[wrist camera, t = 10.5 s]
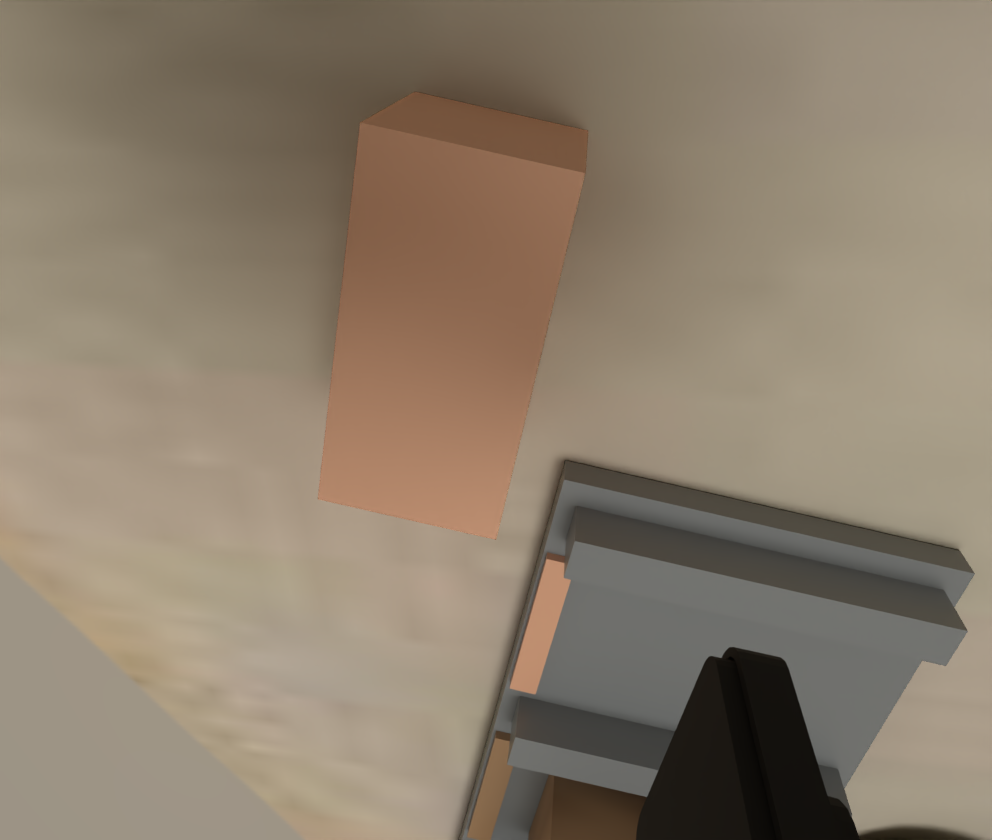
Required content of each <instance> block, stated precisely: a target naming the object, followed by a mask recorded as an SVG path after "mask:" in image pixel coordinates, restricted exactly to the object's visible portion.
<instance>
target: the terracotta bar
mask: <svg viewBox="0 0 992 840" xmlns="http://www.w3.org/2000/svg"><path fill="white" fill-rule="evenodd" d="M587 142H588V131H587V130H583V129H578V128H574V127H570V126H565V125H561V124H556V123H552V122H547V121H543V120H539V119H534V118H530V117H525V116H521V115H516V114H512V113H507V112H503V111H499V110H494V109H490V108H485V107H481V106H476V105H472V104H468V103H463V102H459V101H454V100H450V99H445V98H441V97H436V96H432V95H428V94H423V93H419V92H413V93H412V94H410V95H408V96H406V97H404V98H403V99H401V100H399V101H397V102H396V103H394V104H392V105H390V106H388V107H387V108H385V109H383V110H381V111H380V112H378V113H376V114H374V115H372V116H371V117H369V118H367V119H365V120H363V121H362V122H360V127H359V136H358V145H357V154H356V162H355V171H354V180H353V189H352V198H351V207H350V216H349V225H348V234H347V243H346V252H345V261H344V270H343V279H342V287H341V296H340V305H339V314H338V323H337V332H336V341H335V350H334V359H333V368H332V377H331V386H330V395H329V404H328V412H327V421H326V430H325V439H324V448H323V457H322V466H321V475H320V484H319V493H318V499H319V500H324V501H328V502H333V503H337V504H341V505H346V506H350V507H355V508H359V509H363V510H368V511H372V512H377V513H381V514H385V515H390V516H394V517H399V518H403V519H407V520H412V521H416V522H421V523H425V524H429V525H434V526H438V527H442V528H447V529H451V530H456V531H460V532H464V533H469V534H473V535H478V536H482V537H486V538H491V539H495V540H496V538H497V534H498V530H499V526H500V522H501V517H502V513H503V509H504V505H505V501H506V497H507V493H508V489H509V485H510V481H511V476H512V472H513V468H514V464H515V460H516V456H517V452H518V448H519V444H520V440H521V436H522V431H523V427H524V423H525V419H526V415H527V411H528V407H529V403H530V399H531V395H532V390H533V386H534V382H535V378H536V374H537V370H538V366H539V362H540V358H541V354H542V349H543V345H544V341H545V337H546V333H547V329H548V325H549V321H550V317H551V313H552V308H553V304H554V300H555V296H556V292H557V288H558V284H559V280H560V276H561V272H562V267H563V263H564V259H565V255H566V251H567V247H568V243H569V239H570V235H571V231H572V226H573V222H574V218H575V214H576V210H577V206H578V202H579V198H580V194H581V190H582V185H583V181H584V177H585V173H586V158H587Z"/></svg>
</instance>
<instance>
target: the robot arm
mask: <svg viewBox="0 0 992 840" xmlns="http://www.w3.org/2000/svg"><path fill="white" fill-rule="evenodd" d="M636 840H860V839H859V836H858V833H857V830H856V827H855V824H854V822H853V819H852V817H851V815H850V813H849V811H848V808H847V807H846V806H845V805H844V804H843V803H842V802H841V801H840V799H837V798H834V797H830V796H827V792H826V789H825V786H824V782H823V779H822V776H821V773H820V769H819V766H818V763H817V760H816V756H815V753H814V750H813V746H812V743H811V740H810V737H809V733H808V730H807V727H806V724H805V720H804V717H803V714H802V710H801V707H800V704H799V701H798V697H797V694H796V691H795V688H794V684H793V681H792V678H791V674H790V671H789V668H788V666H787V664H786V662H785V660H783V659H782V658H781V657H777V656H772V655H768V654H763V653H759V652H754V651H750V650H745V649H741V648H736V647H729V648H728V649H727V650H726V651H725V652H724V654H723V656H722V658H719V657H714V656H709V657H708V658H707V659H706V661H705V663H704V665H703V667H702V669H701V672H700V674H699V676H698V679H697V681H696V683H695V686H694V688H693V690H692V693H691V695H690V697H689V700H688V702H687V704H686V707H685V709H684V711H683V714H682V716H681V719H680V721H679V723H678V726H677V728H676V730H675V733H674V735H673V737H672V740H671V742H670V744H669V747H668V749H667V751H666V754H665V756H664V758H663V761H662V763H661V765H660V768H659V770H658V772H657V775H656V777H655V779H654V782H653V784H652V786H651V789H650V791H649V793H648V796H647V798H646V801H645V803H644V805H643V808H642V810H641V813H640V816H639V820H638V825H637V832H636Z"/></svg>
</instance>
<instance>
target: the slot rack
mask: <svg viewBox="0 0 992 840" xmlns="http://www.w3.org/2000/svg"><path fill="white" fill-rule="evenodd" d="M974 574H975V573H974V572H973V570H972V569H971V567H970V566H969V564H968V562H967V561H966V559H965V558H964V556H963V555H962V553H961V552H960V551H959V550H954V549H950V548H945V547H941V546H937V545H932V544H928V543H924V542H919V541H915V540H911V539H906V538H902V537H897V536H893V535H889V534H884V533H880V532H876V531H871V530H867V529H863V528H858V527H854V526H849V525H845V524H841V523H836V522H832V521H828V520H823V519H819V518H815V517H810V516H806V515H801V514H797V513H793V512H788V511H784V510H780V509H775V508H771V507H767V506H762V505H758V504H754V503H749V502H745V501H740V500H736V499H732V498H727V497H723V496H719V495H714V494H710V493H706V492H701V491H697V490H692V489H688V488H684V487H679V486H675V485H671V484H666V483H662V482H658V481H653V480H649V479H644V478H640V477H636V476H631V475H627V474H623V473H618V472H614V471H610V470H605V469H601V468H596V467H592V466H588V465H583V464H579V463H575V462H570V461H565V464H564V468H563V471H562V475H561V478H560V482H559V486H558V489H557V493H556V496H555V500H554V503H553V507H552V510H551V514H550V518H549V521H548V525H547V528H546V532H545V535H544V539H543V543H542V546H541V550H540V553H539V557H538V560H537V564H536V568H535V571H534V575H533V578H532V582H531V585H530V589H529V592H528V596H527V600H526V603H525V607H524V610H523V614H522V617H521V621H520V625H519V628H518V632H517V635H516V639H515V642H514V646H513V650H512V653H511V657H510V660H509V664H508V667H507V671H506V674H505V678H504V682H503V685H502V689H501V692H500V696H499V699H498V703H497V707H496V710H495V714H494V717H493V721H492V724H491V728H490V731H489V735H488V739H487V742H486V746H485V749H484V753H483V756H482V760H481V764H480V767H479V771H478V774H477V778H476V781H475V785H474V789H473V792H472V796H471V799H470V803H469V806H468V810H467V813H466V817H465V821H464V824H463V828H462V831H461V835H460V838H459V840H528V835H529V831H530V828H531V825H532V823H533V820H534V817H535V814H536V811H537V808H538V805H539V802H540V799H541V796H542V793H543V790H544V788H545V785H546V782H547V779H548V776H549V775H554V776H558V777H562V778H567V779H571V780H575V781H580V782H584V783H588V784H593V785H597V786H601V787H606V788H610V789H614V790H619V791H623V792H627V793H632V794H636V795H640V796H645V797H647V796H648V793H649V791H650V789H651V786H652V784H653V782H654V779H655V777H656V775H657V772H658V770H659V768H660V765H661V763H662V761H663V758H664V756H665V754H666V751H667V749H668V747H669V744H670V742H671V740H672V737H673V735H674V733H675V730H676V728H677V726H678V723H679V721H680V719H681V716H682V714H683V711H684V709H685V707H686V704H687V702H688V700H689V697H690V695H691V693H692V690H693V688H694V686H695V683H696V681H697V679H698V676H699V674H700V672H701V669H702V667H703V665H704V663H705V661H706V659H707V658H708V657H709V656H714V657H719V658H722V656H723V654H724V652H725V651H726V650H727V649H728V648H729V647H736V648H741V649H745V650H750V651H754V652H759V653H763V654H768V655H772V656H777V657H781V658H782V659H783V660H785V662H786V664H787V666H788V668H789V671H790V674H791V678H792V681H793V684H794V688H795V691H796V694H797V697H798V701H799V704H800V707H801V710H802V714H803V717H804V720H805V724H806V727H807V730H808V733H809V737H810V740H811V743H812V746H813V750H814V753H815V756H816V760H817V763H818V766H819V769H820V773H821V776H822V779H823V782H824V786H825V789H826V792H827V796H830V797H834V798H837V799H840V801H841V802H842V803H843V804H844V805H845V806H846V807H847V808H848V811H849V813H850V815H851V816H852V813H851V810H850V806H849V803H848V800H847V797H846V793H845V790H844V788H845V787H846V785H847V783H848V782H849V780H850V778H851V777H852V775H853V773H854V772H855V770H856V768H857V767H858V765H859V764H860V762H861V760H862V759H863V757H864V755H865V754H866V752H867V750H868V749H869V747H870V745H871V744H872V742H873V740H874V739H875V737H876V736H877V734H878V732H879V731H880V729H881V727H882V726H883V724H884V722H885V721H886V719H887V717H888V716H889V714H890V712H891V711H892V709H893V708H894V706H895V704H896V703H897V701H898V699H899V698H900V696H901V694H902V693H903V691H904V689H905V688H906V686H907V685H908V683H909V681H910V680H911V678H912V676H913V675H914V673H915V671H916V670H917V668H918V666H919V665H920V663H921V661H926V662H931V663H935V664H939V665H944V666H946V665H947V663H948V662H949V660H950V659H951V657H952V655H953V654H954V652H955V651H956V649H957V648H958V646H959V644H960V643H961V641H962V640H963V638H964V636H965V635H966V633H967V632H968V631H967V629H966V627H965V626H964V624H963V622H962V620H961V619H960V617H959V615H958V613H957V612H956V610H955V608H954V607H955V605H956V604H957V602H958V601H959V599H960V597H961V596H962V594H963V592H964V591H965V589H966V587H967V586H968V584H969V582H970V581H971V579H972V577H973V576H974Z"/></svg>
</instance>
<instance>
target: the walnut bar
mask: <svg viewBox="0 0 992 840" xmlns="http://www.w3.org/2000/svg"><path fill="white" fill-rule="evenodd" d="M646 798H647V797H645V796H640V795H636V794H632V793H627V792H623V791H619V790H614V789H610V788H606V787H601V786H597V785H593V784H588V783H584V782H580V781H575V780H571V779H567V778H562V777H558V776H554V775H549V776H548V779H547V782H546V785H545V788H544V790H543V793H542V796H541V799H540V802H539V805H538V808H537V811H536V814H535V817H534V820H533V823H532V825H531V828H530V831H529V835H528V840H636V832H637V825H638V820H639V816H640V813H641V810H642V808H643V805H644V803H645V801H646Z"/></svg>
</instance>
